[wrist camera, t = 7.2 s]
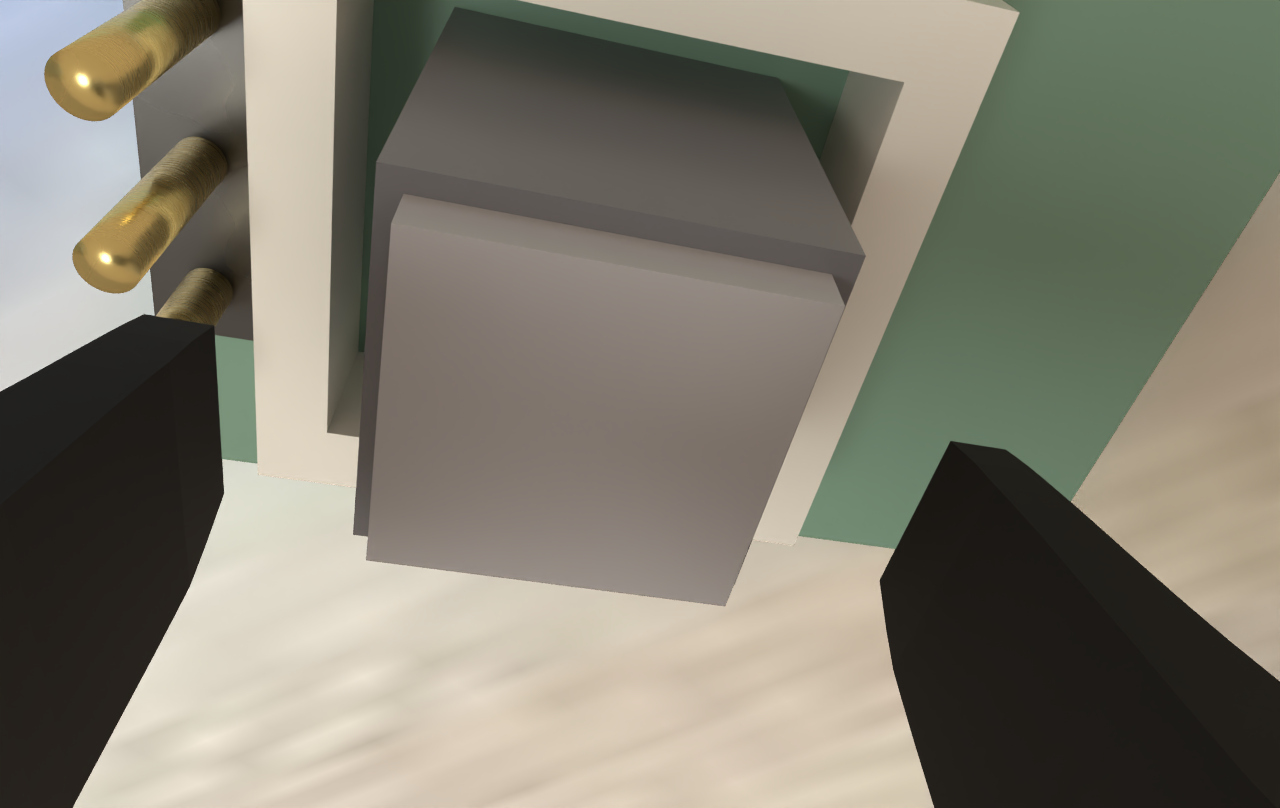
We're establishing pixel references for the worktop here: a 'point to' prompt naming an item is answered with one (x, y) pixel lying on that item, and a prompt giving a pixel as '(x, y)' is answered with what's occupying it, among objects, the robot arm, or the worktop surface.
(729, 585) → the plug
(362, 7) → the socket
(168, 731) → the worktop surface
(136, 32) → the pin header
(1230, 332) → the worktop surface
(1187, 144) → the board
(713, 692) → the worktop surface
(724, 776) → the worktop surface
